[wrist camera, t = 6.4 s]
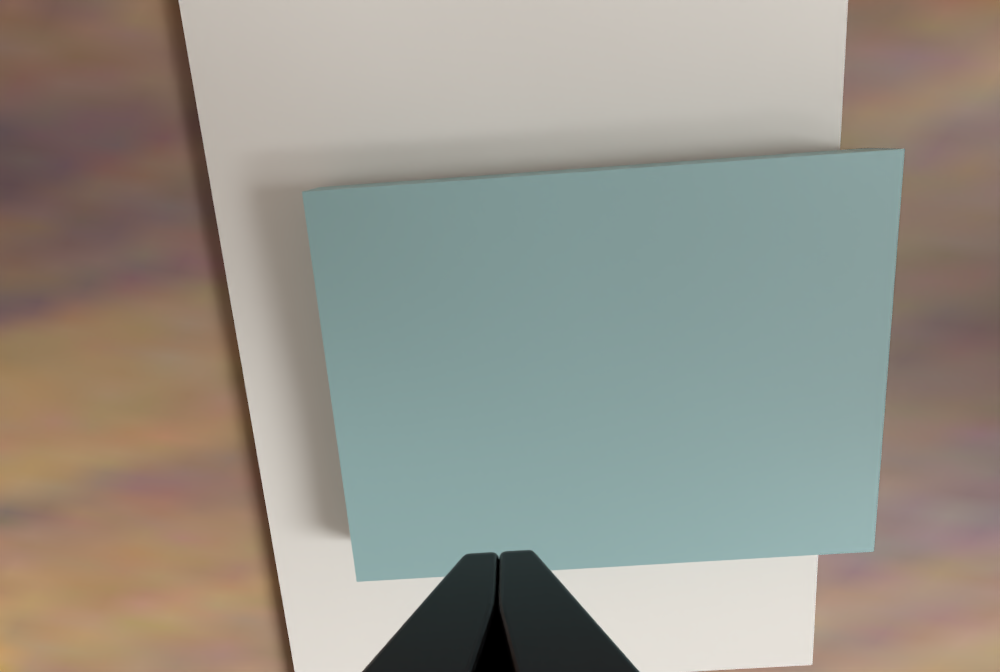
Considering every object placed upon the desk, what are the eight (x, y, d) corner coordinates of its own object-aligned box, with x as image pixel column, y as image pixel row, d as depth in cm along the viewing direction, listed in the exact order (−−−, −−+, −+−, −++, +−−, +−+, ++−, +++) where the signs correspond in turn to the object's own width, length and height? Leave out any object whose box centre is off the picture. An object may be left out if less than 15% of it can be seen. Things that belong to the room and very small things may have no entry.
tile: (904, 149, 14) (301, 191, 14) (873, 551, 16) (356, 581, 17) (862, 148, 16) (322, 186, 16) (840, 514, 18) (369, 542, 18)
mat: (845, -74, 15) (852, -78, 15) (807, 657, 20) (812, 664, 19) (180, -22, 15) (174, -25, 15) (301, 685, 20) (298, 693, 20)
